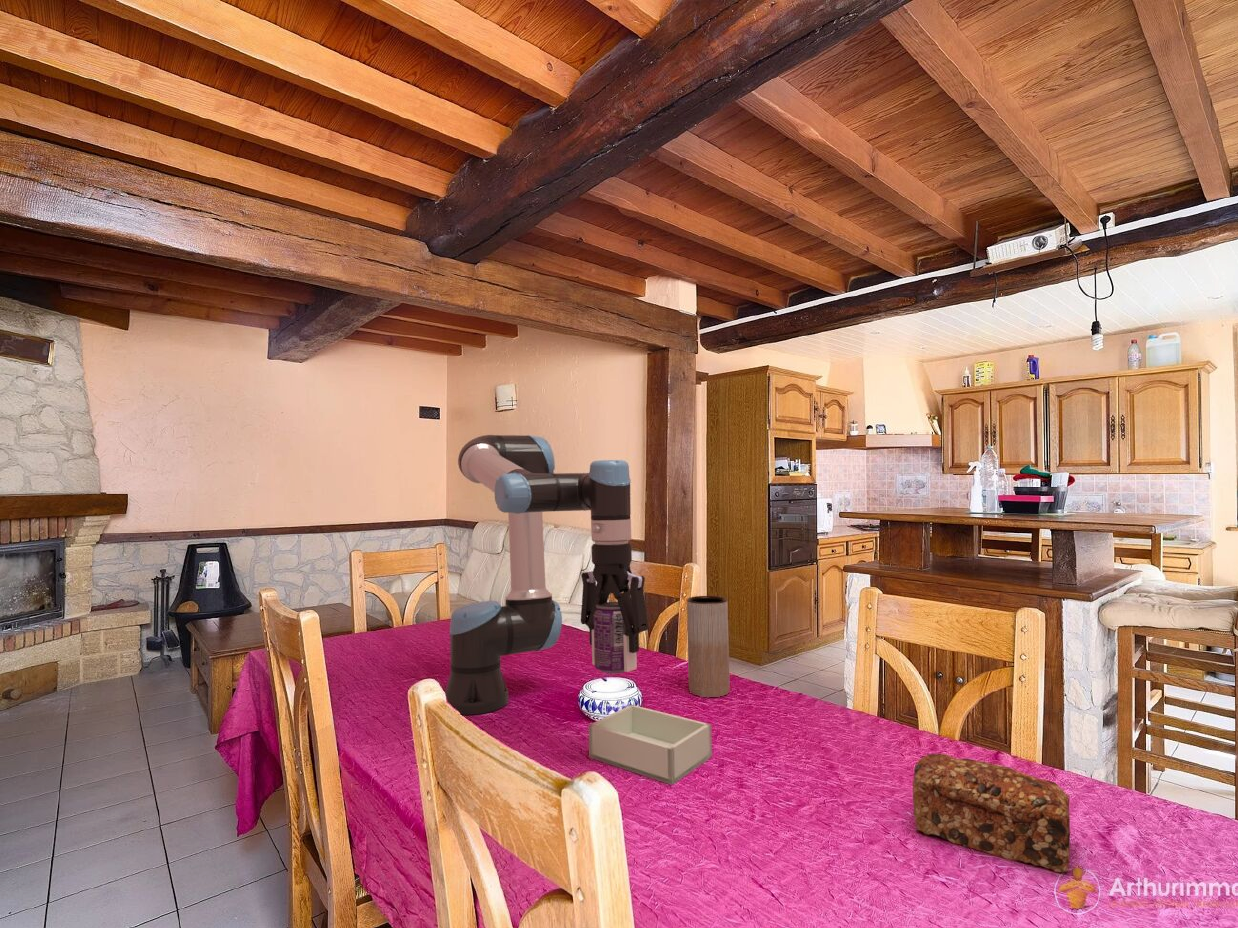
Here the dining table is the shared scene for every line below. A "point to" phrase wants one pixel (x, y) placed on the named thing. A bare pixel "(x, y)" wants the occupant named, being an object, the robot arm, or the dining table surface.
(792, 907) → the dining table surface
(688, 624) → the planter
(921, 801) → the bread
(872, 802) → the dining table surface
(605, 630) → the beverage can
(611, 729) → the tub
